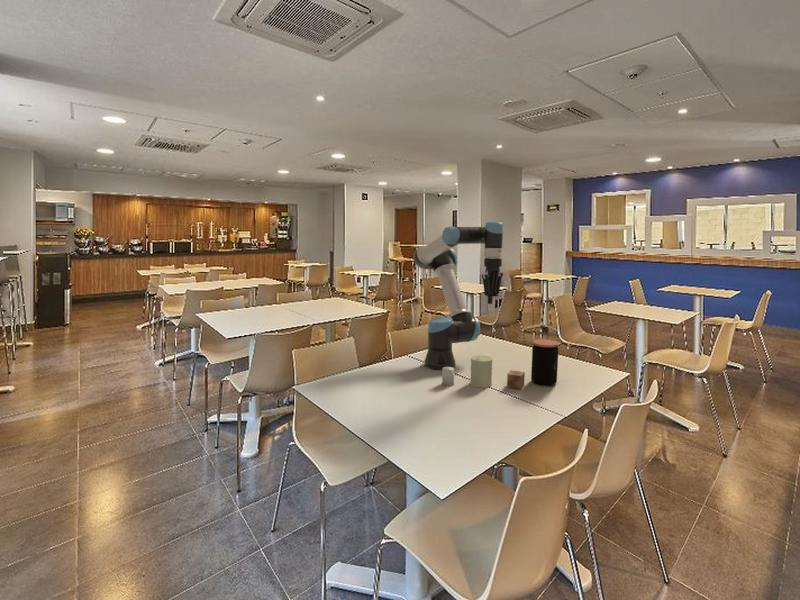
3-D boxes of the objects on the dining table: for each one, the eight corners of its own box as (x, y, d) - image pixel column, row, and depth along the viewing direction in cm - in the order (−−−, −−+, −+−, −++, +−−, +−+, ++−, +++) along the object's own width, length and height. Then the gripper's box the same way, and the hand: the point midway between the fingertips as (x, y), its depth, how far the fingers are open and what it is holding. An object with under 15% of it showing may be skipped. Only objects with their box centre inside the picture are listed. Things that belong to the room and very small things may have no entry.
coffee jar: (558, 387, 181) (560, 345, 178) (532, 385, 183) (533, 344, 181) (554, 379, 191) (556, 339, 189) (529, 377, 194) (531, 338, 191)
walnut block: (506, 387, 181) (507, 374, 180) (509, 383, 187) (510, 370, 186) (521, 390, 179) (522, 376, 178) (524, 385, 184) (524, 372, 183)
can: (465, 384, 185) (466, 357, 184) (477, 379, 192) (478, 353, 190) (484, 389, 179) (485, 361, 177) (495, 383, 186) (496, 357, 184)
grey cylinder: (439, 384, 186) (440, 368, 185) (447, 381, 189) (447, 366, 188) (448, 387, 182) (449, 371, 181) (456, 384, 186) (456, 368, 185)
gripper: (491, 258, 182) (489, 313, 186) (508, 257, 191) (506, 310, 194) (476, 258, 188) (475, 311, 191) (494, 256, 196) (493, 307, 200)
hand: (491, 310), depth 193 cm, fingers closed
